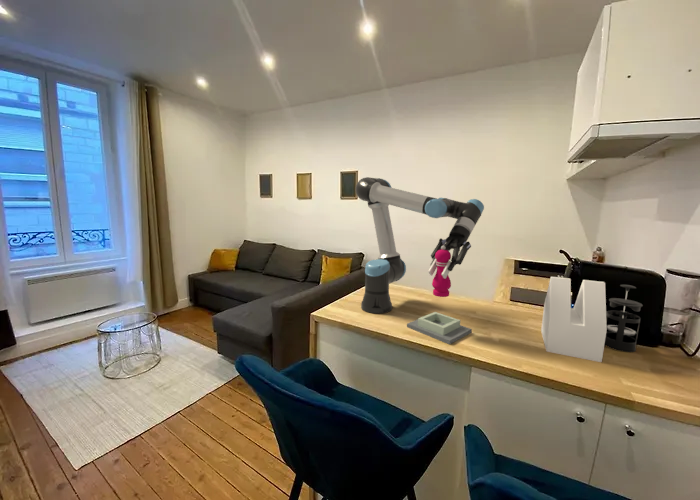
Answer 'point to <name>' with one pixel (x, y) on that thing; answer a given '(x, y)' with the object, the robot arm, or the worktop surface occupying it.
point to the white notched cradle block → (575, 319)
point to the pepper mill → (439, 282)
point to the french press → (622, 324)
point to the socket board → (440, 327)
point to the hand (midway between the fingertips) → (436, 274)
